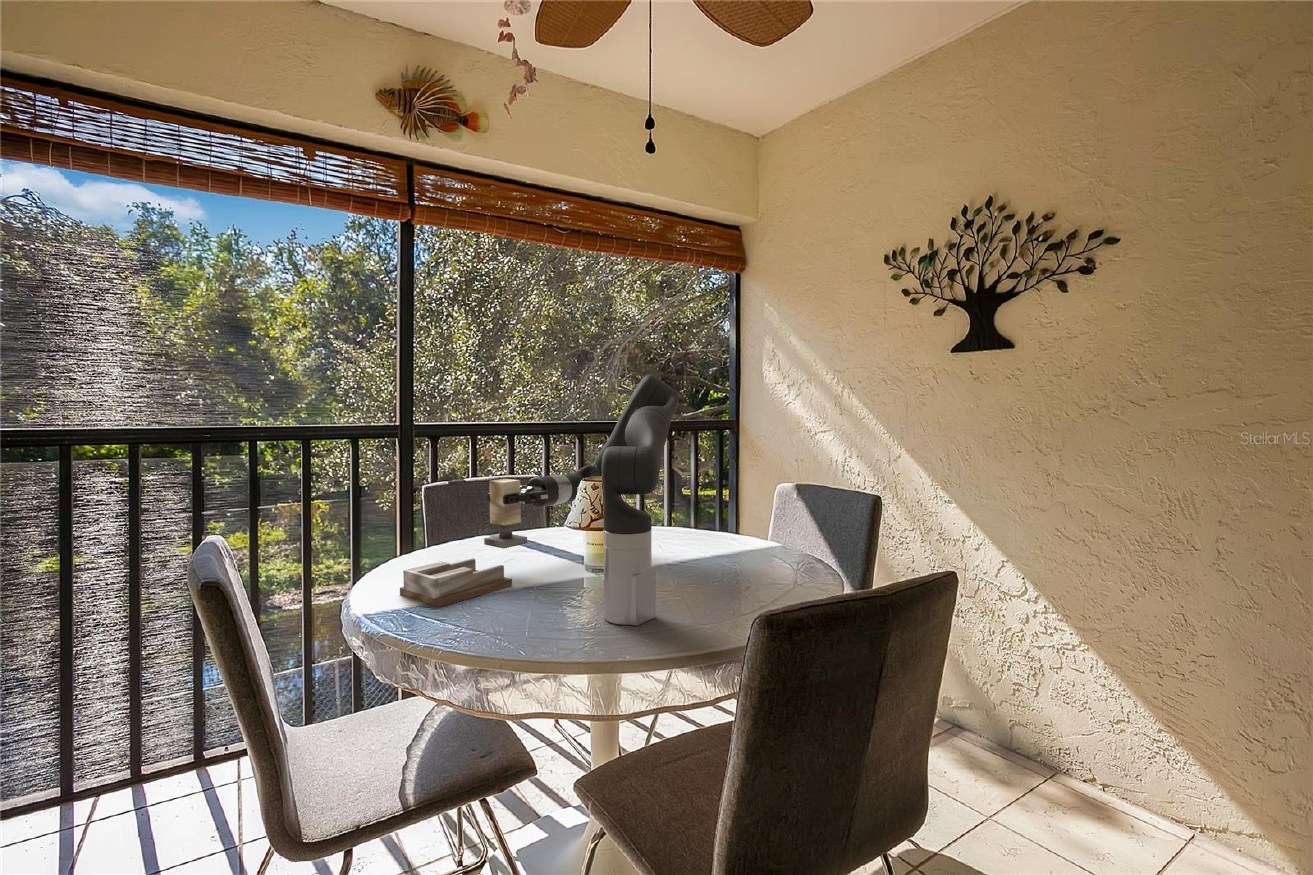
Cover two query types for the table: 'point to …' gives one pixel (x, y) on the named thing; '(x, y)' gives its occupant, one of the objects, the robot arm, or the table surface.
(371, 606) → the table surface
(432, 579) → the track
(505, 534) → the keyhole post
